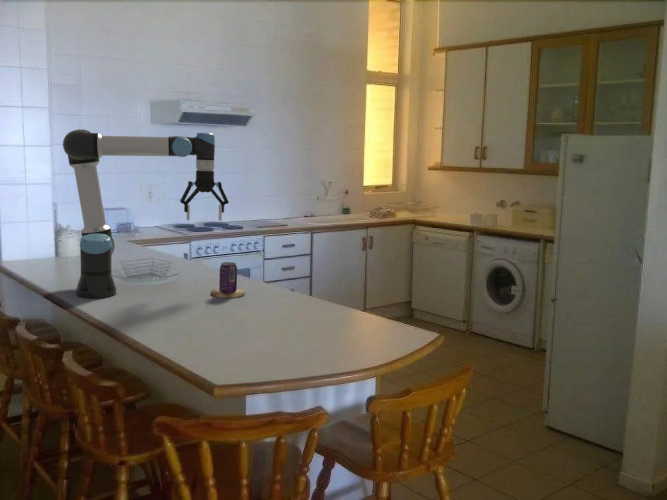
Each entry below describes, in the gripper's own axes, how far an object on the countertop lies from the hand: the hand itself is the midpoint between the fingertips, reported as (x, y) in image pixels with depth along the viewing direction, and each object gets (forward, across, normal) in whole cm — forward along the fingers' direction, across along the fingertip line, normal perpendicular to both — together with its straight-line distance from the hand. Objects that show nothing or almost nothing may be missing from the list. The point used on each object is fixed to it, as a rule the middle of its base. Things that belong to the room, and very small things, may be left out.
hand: (204, 220), depth 295 cm
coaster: (+28, +7, -17) cm, 34 cm away
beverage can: (+28, +7, -17) cm, 34 cm away
